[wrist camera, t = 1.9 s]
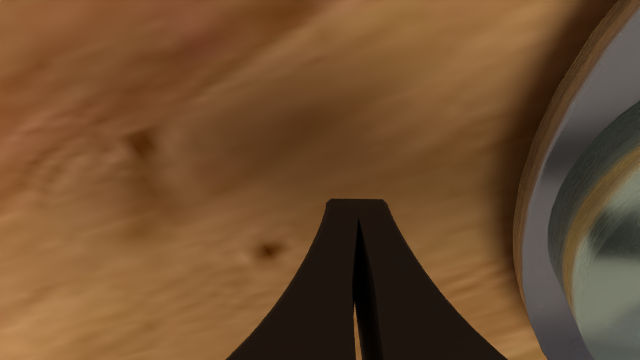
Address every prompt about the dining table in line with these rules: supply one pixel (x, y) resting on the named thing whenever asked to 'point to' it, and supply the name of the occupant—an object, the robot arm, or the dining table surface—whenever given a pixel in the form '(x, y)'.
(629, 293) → the cover
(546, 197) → the turntable platter
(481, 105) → the dining table surface
